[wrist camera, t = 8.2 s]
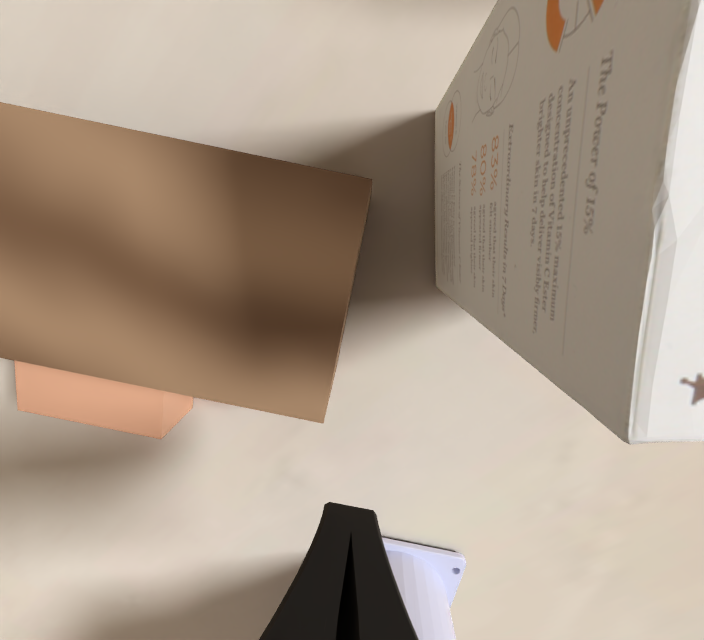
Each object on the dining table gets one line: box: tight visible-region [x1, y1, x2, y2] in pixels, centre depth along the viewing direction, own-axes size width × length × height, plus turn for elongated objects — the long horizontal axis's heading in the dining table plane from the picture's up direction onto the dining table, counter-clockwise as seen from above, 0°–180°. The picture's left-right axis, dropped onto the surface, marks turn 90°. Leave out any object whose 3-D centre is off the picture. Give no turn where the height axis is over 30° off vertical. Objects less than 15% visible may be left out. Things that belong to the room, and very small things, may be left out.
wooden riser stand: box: [0, 102, 372, 423], centre depth 15 cm, size 9×22×5 cm, turn 79°
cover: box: [14, 360, 193, 439], centre depth 17 cm, size 8×7×3 cm
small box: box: [435, 0, 704, 444], centre depth 9 cm, size 8×6×13 cm
